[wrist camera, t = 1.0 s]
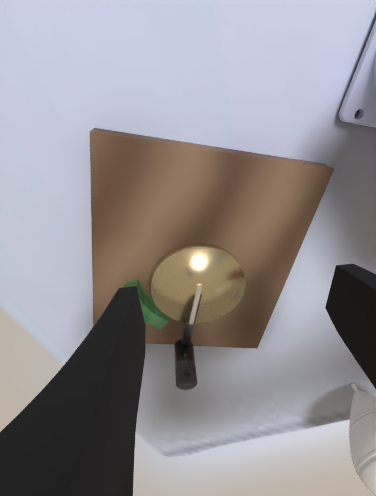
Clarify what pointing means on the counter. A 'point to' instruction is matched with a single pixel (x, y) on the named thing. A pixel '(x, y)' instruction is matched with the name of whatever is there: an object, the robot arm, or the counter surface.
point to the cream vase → (363, 437)
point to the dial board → (197, 224)
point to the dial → (195, 295)
